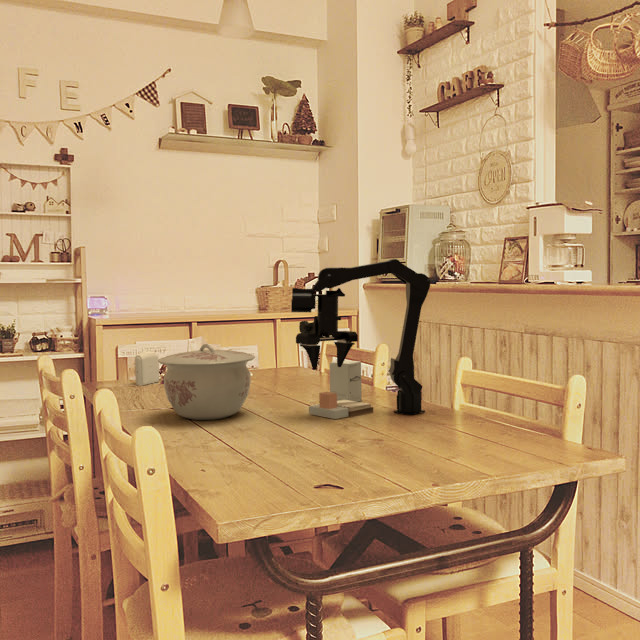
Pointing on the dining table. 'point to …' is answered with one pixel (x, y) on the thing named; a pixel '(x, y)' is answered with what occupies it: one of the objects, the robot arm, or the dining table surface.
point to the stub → (328, 407)
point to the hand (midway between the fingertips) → (327, 368)
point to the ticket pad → (355, 407)
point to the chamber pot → (207, 382)
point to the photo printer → (146, 368)
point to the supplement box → (346, 380)
